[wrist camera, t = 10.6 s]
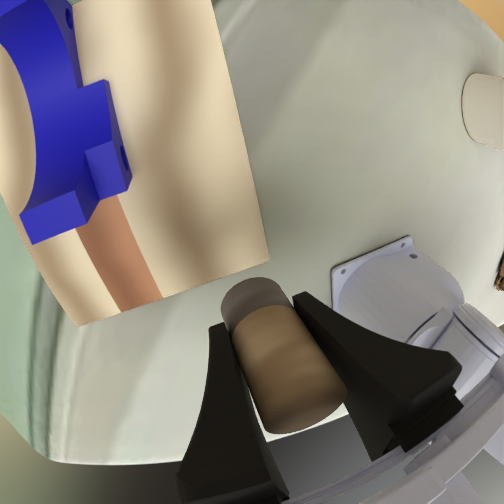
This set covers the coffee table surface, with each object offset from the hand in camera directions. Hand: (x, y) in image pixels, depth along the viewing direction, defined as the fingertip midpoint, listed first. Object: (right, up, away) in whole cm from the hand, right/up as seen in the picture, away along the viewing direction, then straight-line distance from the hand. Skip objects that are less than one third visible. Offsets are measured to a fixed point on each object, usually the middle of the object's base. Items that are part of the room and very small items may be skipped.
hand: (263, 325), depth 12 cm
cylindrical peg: (0, +1, +1) cm, 1 cm away
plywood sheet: (-9, +9, +3) cm, 13 cm away
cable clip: (-11, +12, 0) cm, 16 cm away
